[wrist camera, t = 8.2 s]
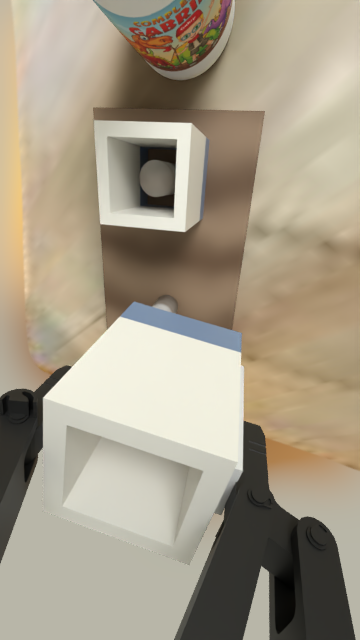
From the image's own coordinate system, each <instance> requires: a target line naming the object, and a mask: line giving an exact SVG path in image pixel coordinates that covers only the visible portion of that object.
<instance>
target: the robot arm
mask: <svg viewBox="0 0 360 640" xmlns="http://www.w3.org/2000/svg"><path fill="white" fill-rule="evenodd" d="M71 368H72V367H71V366H67V365H66V366H64V367H62V368H60V369H58V370H56V371H55V372H54V373H53V374H52V375H51V376H50V378H48V379H47V380H46V381H45V382H44V384H42V385H41V386H40V387H39V388H38V389H37V390H36V391H35V392H33V391H31V390H27V389H15V390H11V391H9V392H7V393H5V394H3V395H2V396H1V397H0V563H1V560H2V557H3V555H4V552H5V549H6V546H7V544H8V541H9V538H10V535H11V533H12V530H13V527H14V524H15V522H16V519H17V516H18V513H19V511H20V508H21V505H22V502H23V500H24V497H25V494H26V491H27V489H28V486H29V483H30V480H31V477H32V475H33V472H34V469H35V467H36V464H37V460H38V453H39V452H40V450H41V449H42V448H43V397H44V396H45V395H46V394H47V393H48V392H49V391H50V390H51V389H52V388H53V387H54V386H55V385H56V384H57V383H58V381H59V380H60V379H61V378H62V377H63V376H64V375H65V374H66V373H67V372H68V371H69V370H70V369H71ZM243 410H244V366H241V372H240V407H239V441H238V463H237V465H236V467H235V470H234V472H233V474H232V476H231V478H230V480H229V482H228V484H227V486H226V489H225V491H224V493H223V495H222V497H221V499H220V501H219V503H218V505H217V507H216V510H215V512H214V513H217V514H219V515H221V514H222V512H223V510H224V508H225V512H224V520H223V522H222V524H221V527H220V528H219V530H218V532H217V534H216V539H215V541H214V544H213V546H212V548H211V551H210V553H209V556H208V558H207V561H206V563H205V566H204V568H203V570H202V573H201V575H200V578H199V580H198V583H197V585H196V587H195V590H194V593H193V595H192V597H191V600H190V602H189V605H188V607H187V610H186V612H185V614H184V617H183V619H182V622H181V624H180V627H179V629H178V632H177V634H176V636H175V639H174V640H243V636H244V632H245V628H246V624H247V620H248V616H249V612H250V608H251V604H252V600H253V596H254V592H255V588H256V584H257V580H258V576H259V572H260V568H261V566H262V567H264V568H265V569H267V570H268V571H269V602H270V603H269V608H270V609H269V611H270V613H269V620H270V621H269V622H270V640H355V634H354V629H353V624H352V620H351V614H350V609H349V604H348V599H347V594H346V588H345V583H344V578H343V573H342V568H341V563H340V558H339V552H338V547H337V544H336V541H335V538H334V536H333V535H332V533H331V532H330V530H329V529H328V528H327V527H326V526H325V525H324V524H323V523H322V522H320V521H318V520H317V519H315V518H312V517H304V518H301V519H300V520H298V519H297V518H295V517H294V516H292V515H291V514H290V513H288V512H286V511H285V510H284V509H283V508H281V507H280V506H279V505H278V504H277V503H276V501H275V499H274V496H273V494H272V493H271V492H270V490H269V484H268V470H267V457H266V448H265V446H266V443H265V435H264V433H263V431H262V429H261V427H260V426H258V425H255V424H252V423H249V422H246V421H243Z"/></svg>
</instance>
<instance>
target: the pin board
mask: <svg viewBox="0 0 360 640" xmlns="http://www.w3.org/2000/svg"><path fill="white" fill-rule="evenodd" d="M93 113H94V120H103V121H137V122H171V123H192V124H193V125H194V126H195V127H196V128H197V129H198V130H199V131H200V132H201V133H203V134H204V135H205V136H206V137H207V138H208V139H209V140H210V141H209V152H208V164H207V176H206V188H205V199H204V211H203V218H202V219H201V220H200V221H199V222H197V223H196V224H195V225H193V226H192V227H191V228H190V229H188V230H187V231H186V232H179V231H168V230H158V229H147V228H136V227H126V226H115V225H105V224H101V240H102V256H103V272H104V288H105V304H106V320H107V330H108V328H109V327H110V326H111V325H112V324H113V323H114V322H115V321H116V320H117V319H118V318H119V317H120V316H121V315H122V314H123V313H124V312H125V310H126V309H127V308H128V307H129V306H130V305H131V304H132V303H133V302H137V303H141V304H144V305H148V306H151V307H154V308H158V309H161V310H165V311H168V312H171V313H175V314H178V315H182V316H185V317H188V318H192V319H195V320H199V321H202V322H205V323H209V324H212V325H216V326H219V327H223V328H226V329H229V330H232V325H233V318H234V312H235V305H236V298H237V292H238V285H239V279H240V272H241V265H242V259H243V252H244V246H245V239H246V232H247V226H248V219H249V213H250V206H251V199H252V193H253V186H254V179H255V173H256V166H257V160H258V153H259V146H260V140H261V133H262V127H263V120H264V113H265V111H228V110H182V109H135V108H93ZM176 154H177V150H163V149H148V162H147V163H145V164H144V165H143V167H142V169H141V171H140V175H139V180H140V185H141V187H142V189H143V190H144V191H145V193H147V194H148V204H151V205H164V206H174V200H175V177H176Z"/></svg>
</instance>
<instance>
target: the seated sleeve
mask: <svg viewBox="0 0 360 640" xmlns="http://www.w3.org/2000/svg"><path fill="white" fill-rule="evenodd" d="M94 134H95V150H96V166H97V181H98V197H99V213H100V224H105V225H115V226H126V227H136V228H147V229H158V230H168V231H179V232H186V231H187V230H188V229H190V228H191V227H192V226H193V225H195V224H196V223H197V222H199V221H200V220H201V219H202V218H203V211H204V199H205V188H206V176H207V164H208V152H209V141H210V140H209V139H208V138H207V137H206V136H205V135H204V134H203V133H201V132H200V131H199V130H198V129H197V128H196V127H195V126H194V125H193V124H192V123H171V122H137V121H103V120H94ZM148 149H163V150H177V154H176V177H175V200H174V206H164V205H151V204H148V194H147V193H145V191H144V190H143V189H142V187H141V185H140V180H139V175H140V171H141V169H142V167H143V165H144V164H145V163H147V162H148Z"/></svg>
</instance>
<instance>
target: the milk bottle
mask: <svg viewBox="0 0 360 640" xmlns="http://www.w3.org/2000/svg"><path fill="white" fill-rule="evenodd" d="M93 1H94V2H95V3H96V5H97V6H98V7H99V8H100V9H101V11H102V12H103V13H104V14H105V15H106V16H107V18H108V19H109V20H110V21H111V22H112V23H113V25H114V26H115V27H116V28H117V29H118V30H119V32H120V33H121V34H122V35H123V36H124V37H125V38H126V40H127V41H128V42H129V43H130V44H131V45H132V46H133V47H134V49H135V50H136V51H137V52H138V53H139V54H140V55H141V56H142V58H143V59H144V60H145V61H146V62H147V63H148V64H149V65H150V66H151V67H152V68H153V69H154V70H155V71H156V72H158V73H159V74H161V75H162V76H164V77H166V78H169V79H173V80H188V79H191V78H194V77H197V76H199V75H200V74H202V73H203V72H205V71H206V70H207V69H209V68H210V67H211V66H212V65H213V64H214V63H215V61H216V60H217V59H218V57H219V56H220V55H221V53H222V51H223V50H224V48H225V46H226V44H227V41H228V39H229V36H230V33H231V29H232V25H233V20H234V11H235V0H93Z"/></svg>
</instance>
